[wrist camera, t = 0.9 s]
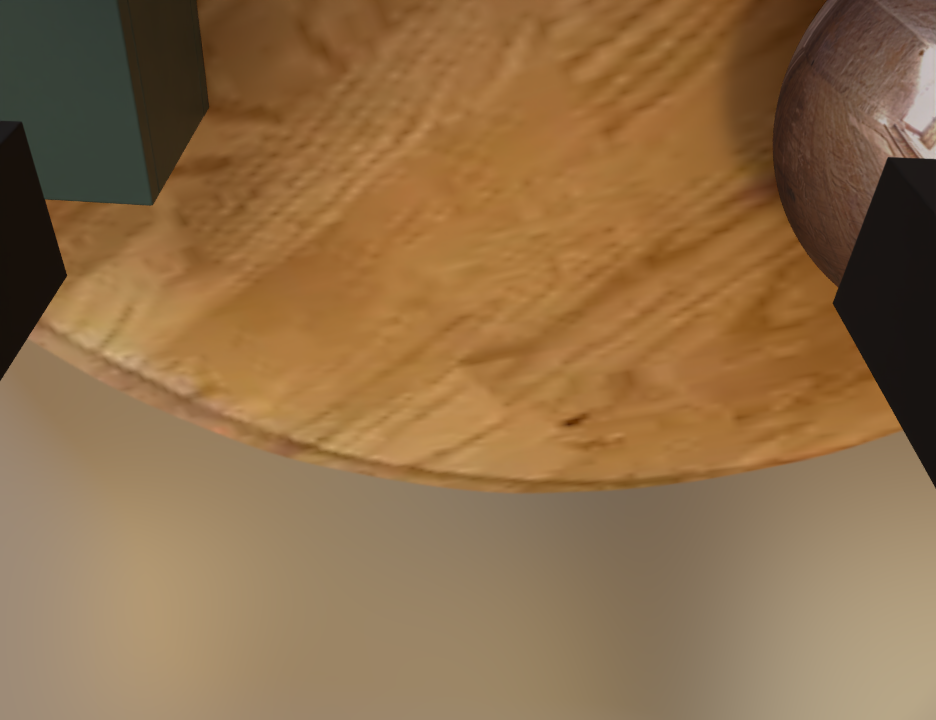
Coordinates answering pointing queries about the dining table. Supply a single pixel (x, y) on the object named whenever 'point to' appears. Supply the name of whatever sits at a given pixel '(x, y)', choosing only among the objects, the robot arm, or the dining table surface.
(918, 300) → the robot arm
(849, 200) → the wooden sphere
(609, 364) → the dining table surface
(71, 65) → the cabinet
